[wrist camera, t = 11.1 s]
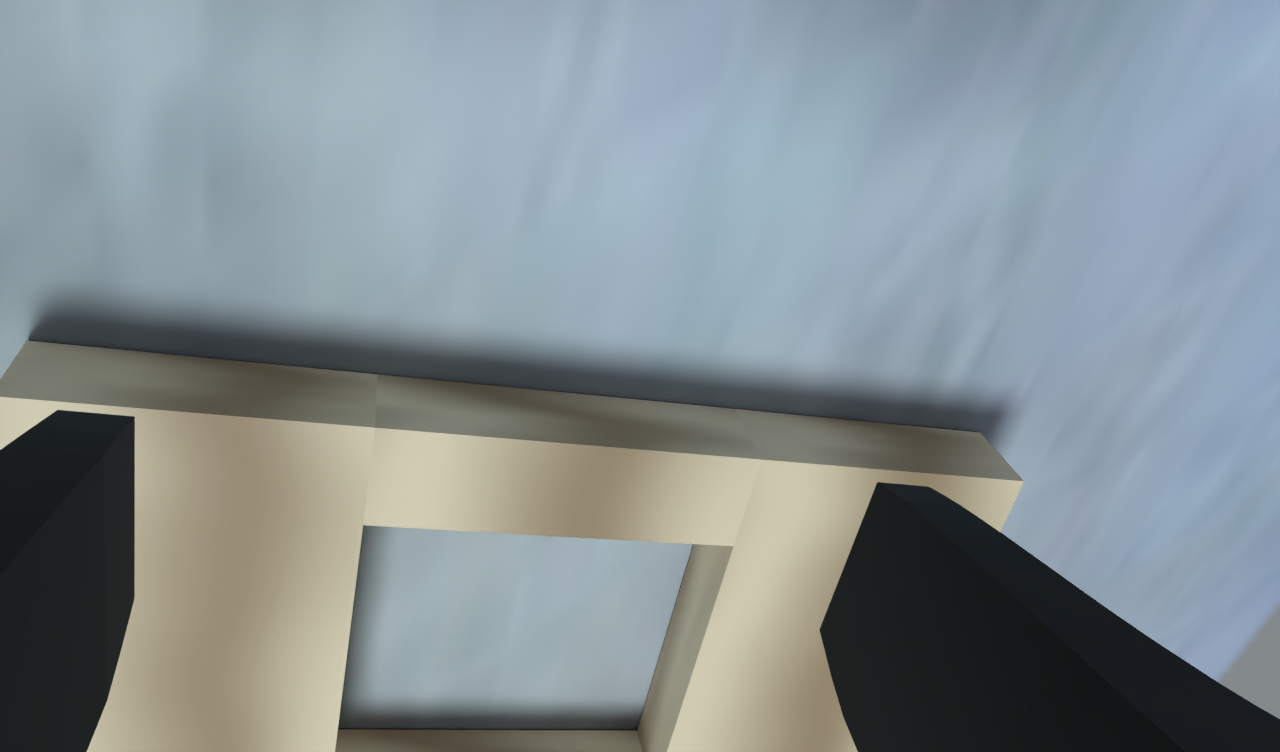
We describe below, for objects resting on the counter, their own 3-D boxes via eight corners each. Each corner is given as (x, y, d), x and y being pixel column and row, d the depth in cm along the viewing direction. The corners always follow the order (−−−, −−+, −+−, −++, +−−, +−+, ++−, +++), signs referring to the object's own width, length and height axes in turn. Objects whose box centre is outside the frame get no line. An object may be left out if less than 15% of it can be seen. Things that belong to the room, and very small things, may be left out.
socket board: (49, 796, 24) (22, 873, 22) (26, 340, 19) (-11, 395, 17) (827, 786, 30) (853, 847, 28) (980, 432, 24) (1024, 481, 23)
